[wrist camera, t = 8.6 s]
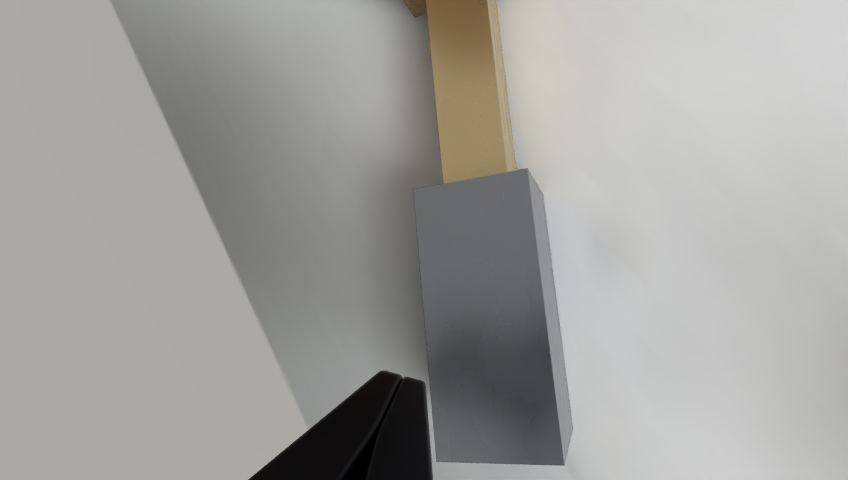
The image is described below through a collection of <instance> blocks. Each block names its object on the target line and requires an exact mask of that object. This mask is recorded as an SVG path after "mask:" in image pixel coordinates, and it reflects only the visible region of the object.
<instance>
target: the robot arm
mask: <svg viewBox="0 0 848 480" xmlns="http://www.w3.org/2000/svg"><path fill="white" fill-rule="evenodd" d="M249 480H433V473H432V461H431V448H430V435H429V423H428V410H427V397H426V386H425V383H424V382H423V381H421V380H417V379H413V378H410V377H404V378H402V376H401V375H399V374H395V373H392V372H388V371H380V372H378V373H377V374H376V375H375V376H373V377H372V378H371V379H370V380H369V381H367V382H366V383H365V384H364V385H363V386H361V387H360V388H359V389H358V390H356V391H355V392H354V393H353V394H352V395H350V396H349V397H348V398H347V399H346V400H344V401H343V402H342V403H341V404H340V405H338V406H337V407H336V408H335V409H333V410H332V411H331V412H330V413H329V414H327V415H326V416H325V417H324V418H323V419H321V420H320V421H319V422H318V423H316V424H315V425H314V426H313V427H312V428H310V429H309V430H308V431H307V432H306V433H304V434H303V435H302V436H301V437H299V438H298V439H297V440H296V441H295V442H293V443H292V444H291V445H290V446H289V447H287V448H286V449H285V450H284V451H282V452H281V453H280V454H279V455H278V456H276V457H275V458H274V459H273V460H272V461H270V462H269V463H268V464H267V465H266V466H264V467H263V468H262V469H261V470H259V471H258V472H257V473H256V474H255V475H253V476H252V477H251V478H250V479H249Z"/></svg>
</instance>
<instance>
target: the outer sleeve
mask: <svg viewBox="0 0 848 480" xmlns="http://www.w3.org/2000/svg"><path fill="white" fill-rule="evenodd" d="M413 193H414V204H415V216H416V228H417V239H418V251H419V263H420V275H421V286H422V298H423V310H424V321H425V333H426V345H427V357H428V368H429V380H430V392H431V403H432V415H433V427H434V439H435V450H436V462H459V463H494V464H529V465H565V460H566V456H567V452H568V447H569V443H570V439H571V435H572V430H573V425H572V417H571V410H570V402H569V394H568V386H567V379H566V371H565V363H564V355H563V347H562V340H561V332H560V324H559V316H558V308H557V301H556V293H555V285H554V277H553V269H552V262H551V254H550V246H549V238H548V230H547V223H546V215H545V207H544V199H543V194H542V192H541V190H540V189H539V187H538V185H537V184H536V182H535V180H534V179H533V177H532V175H531V174H530V172H529V170H528V168H526V169H521V170H515V171H510V172H504V173H499V174H494V175H488V176H483V177H477V178H472V179H467V180H461V181H456V182H450V183H445V184H439V185H434V186H429V187H423V188H418V189H413Z"/></svg>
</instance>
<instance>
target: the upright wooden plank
mask: <svg viewBox="0 0 848 480" xmlns="http://www.w3.org/2000/svg"><path fill="white" fill-rule="evenodd" d="M403 1H404V2H405V4H406V5H407V7H408V8H409V10H410V11H411V12H412V14H413V15H414V17H418V16H421V15H424V14H427V17H428V28H429V38H430V49H431V59H432V70H433V80H434V91H435V101H436V112H437V122H438V133H439V143H440V153H441V164H442V174H443V184H445V183H450V182H456V181H461V180H467V179H472V178H477V177H483V176H488V175H494V174H499V173H504V172H510V171H515V170H516V161H515V153H514V145H513V137H512V128H511V120H510V112H509V103H508V95H507V87H506V79H505V70H504V62H503V54H502V45H501V37H500V29H499V20H498V12H497V4H496V0H403Z"/></svg>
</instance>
